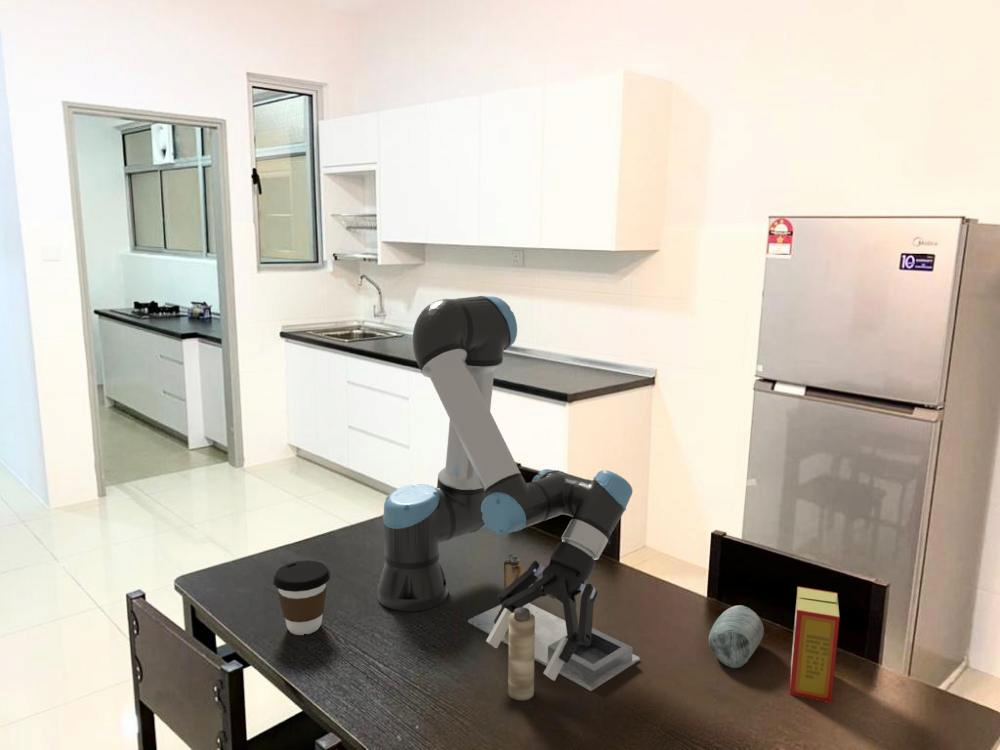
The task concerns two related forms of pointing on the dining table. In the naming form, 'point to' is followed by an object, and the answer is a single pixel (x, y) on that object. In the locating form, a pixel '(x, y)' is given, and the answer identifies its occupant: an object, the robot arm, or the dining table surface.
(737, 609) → the spool
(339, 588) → the dining table surface
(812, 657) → the baking soda box
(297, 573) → the coffee cup
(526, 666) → the birch leg peg
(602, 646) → the bolt plate
